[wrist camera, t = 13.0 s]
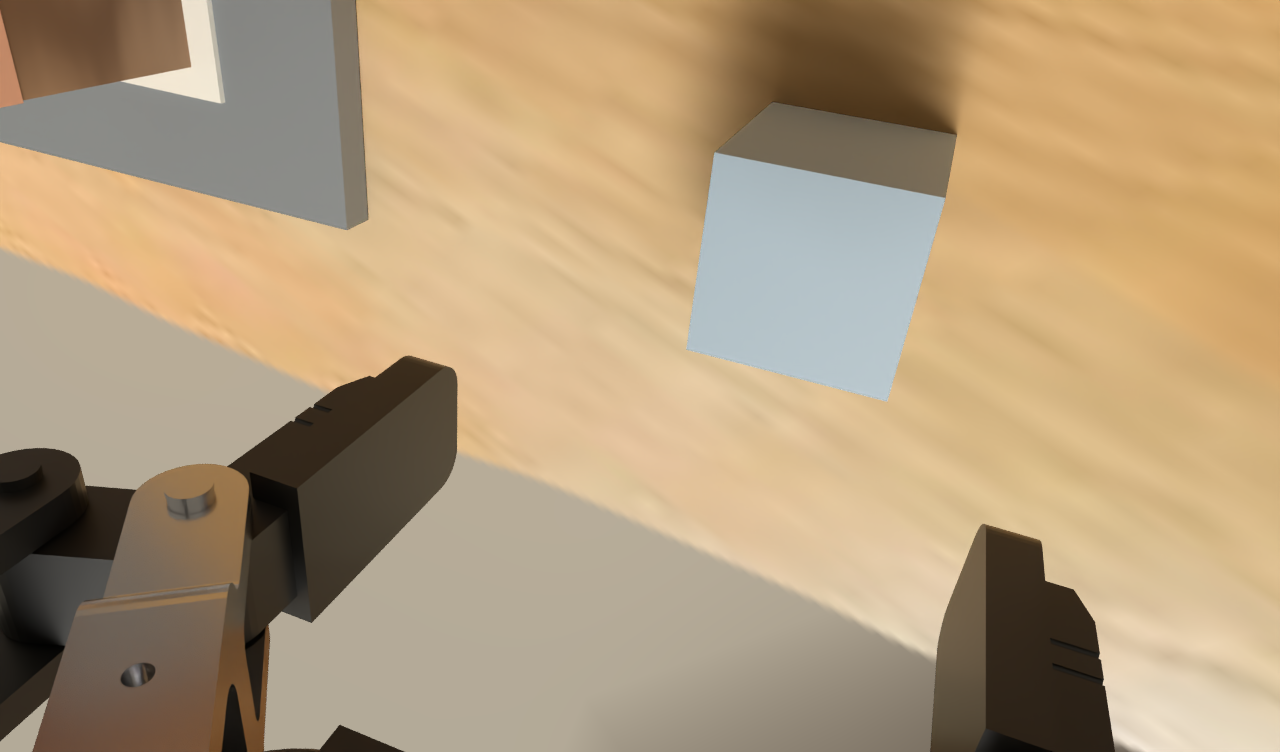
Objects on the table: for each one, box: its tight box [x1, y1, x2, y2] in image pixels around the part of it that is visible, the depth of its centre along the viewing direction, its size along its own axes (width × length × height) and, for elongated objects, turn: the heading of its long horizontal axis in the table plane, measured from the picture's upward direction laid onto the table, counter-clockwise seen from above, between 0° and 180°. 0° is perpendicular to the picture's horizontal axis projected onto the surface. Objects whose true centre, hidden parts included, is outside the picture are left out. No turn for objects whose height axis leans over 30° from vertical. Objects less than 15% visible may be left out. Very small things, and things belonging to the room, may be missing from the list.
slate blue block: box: [686, 102, 957, 401], centre depth 22 cm, size 5×5×6 cm
